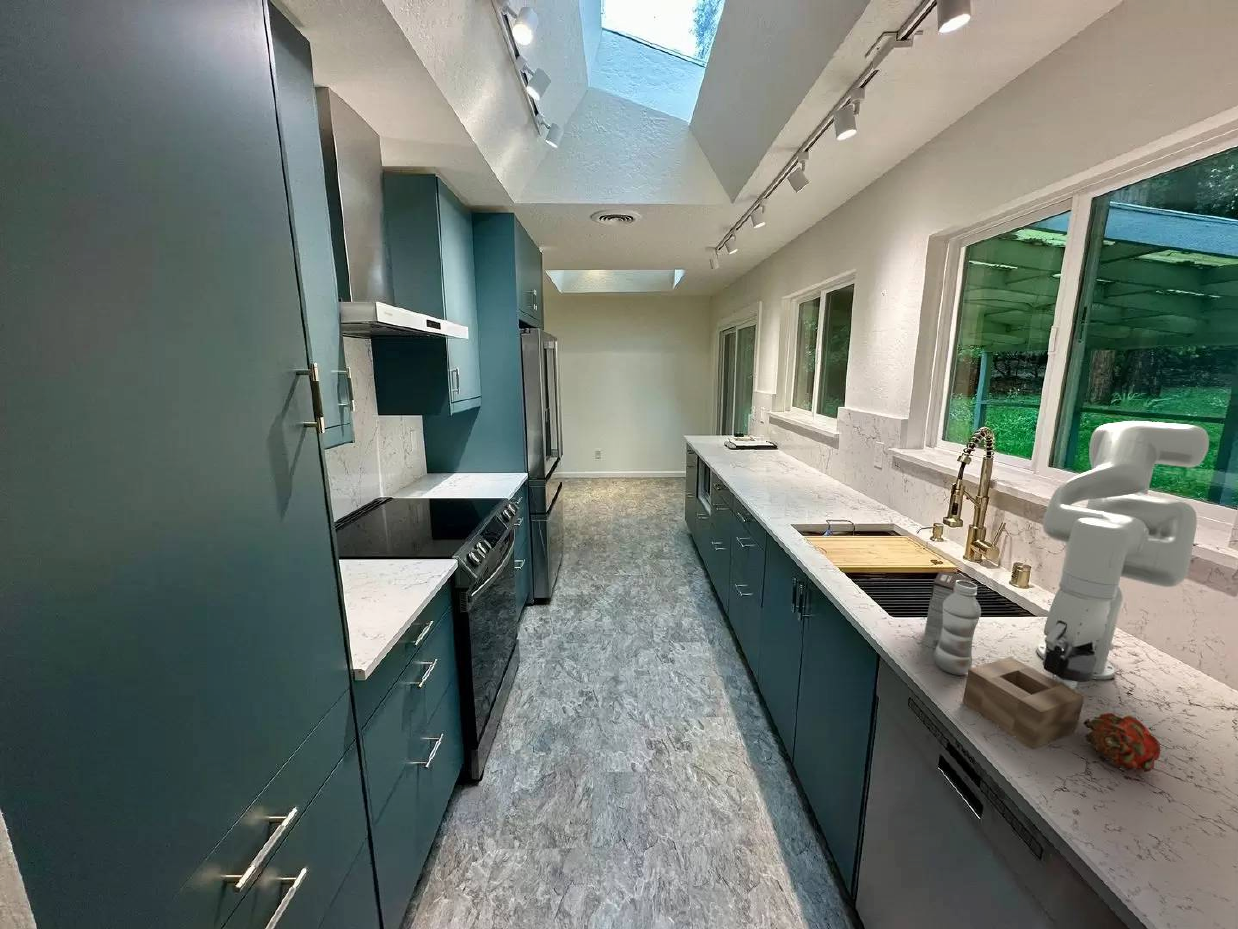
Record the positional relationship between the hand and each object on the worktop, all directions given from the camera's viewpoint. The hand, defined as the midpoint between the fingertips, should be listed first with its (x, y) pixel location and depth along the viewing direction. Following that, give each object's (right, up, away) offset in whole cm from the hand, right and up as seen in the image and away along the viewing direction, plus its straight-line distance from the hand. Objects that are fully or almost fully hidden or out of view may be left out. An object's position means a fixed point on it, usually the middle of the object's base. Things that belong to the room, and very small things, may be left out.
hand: (1066, 668), depth 91 cm
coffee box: (-10, -3, +21) cm, 23 cm away
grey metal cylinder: (0, -7, +2) cm, 7 cm away
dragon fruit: (-3, -10, -11) cm, 16 cm away
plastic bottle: (-15, -5, +11) cm, 19 cm away
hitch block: (-12, -8, -3) cm, 14 cm away
